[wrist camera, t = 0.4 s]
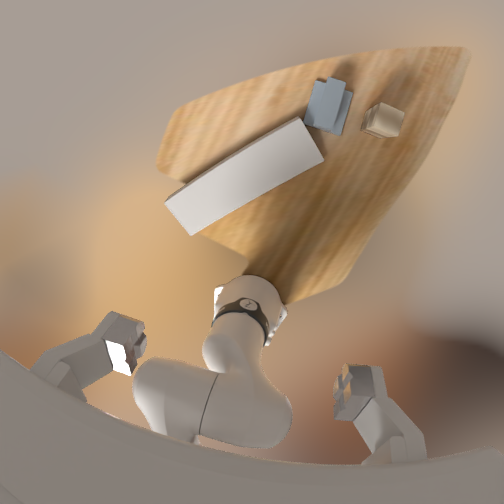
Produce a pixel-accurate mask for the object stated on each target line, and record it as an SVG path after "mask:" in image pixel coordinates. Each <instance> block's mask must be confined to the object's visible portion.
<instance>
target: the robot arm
mask: <svg viewBox="0 0 504 504" xmlns="http://www.w3.org/2000/svg"><path fill="white" fill-rule="evenodd" d="M218 294H219V295H218ZM287 314H288V310H287V308H286V307H285V306H284V305H283V304H282V302H281V300H280V297H279V294H278V292H277V290H276V289H275V287H274V286H273V285H272V284H271V283H270V282H268V281H267V280H265V279H263V278H261V277H258V276H254V275H243V276H239V277H237V278H234V279H233V280H231V281H230V282H229V283H227V284H223V285H219V286H217V287H216V289H215V298H214V319H213V322H212V326H211V330H210V332H209V333H208V335H207V338H206V339H205V341H204V343H203V347H202V354H203V358H204V360H205V363H206V365H207V367H208V368H209V369H210V370H208V369H205V368H202V367H199V366H196V365H193V364H190V363H187V362H184V361H181V360H175V359H169V358H162V357H152V358H150V359H148V360H147V361H145V362H144V363H143V364H142V365H141V366H140V367H139V368H138V370H137V372H136V374H135V376H134V379H133V386H132V388H133V389H132V390H133V396H134V399H135V402H136V404H137V406H138V407H139V408H140V410H141V411H142V412H143V414H144V416H145V417H146V419H147V421H148V423H149V425H150V427H151V429H152V431H151V430H148V429H146V428H143V427H140V426H138V425H135V424H132V423H130V422H127V421H125V420H123V419H120V418H118V417H116V416H113V415H111V414H109V413H107V412H104V411H102V410H100V409H98V408H96V407H94V406H92V405H90V404H88V403H86V402H87V399H86V397H85V395H84V393H83V391H82V389H83V388H85V387H87V386H88V385H90V384H92V383H93V382H95V381H97V380H98V379H100V378H102V377H103V376H105V375H107V374H108V373H110V372H111V371H113V369H114V370H117V371H120V372H123V373H126V374H128V375H131V374H132V373H133V371H134V369H135V367H136V366H137V360H136V359H138V358H140V357H141V356H142V355H143V354H144V352H145V348H146V344H147V339H146V335H145V334H144V333H143V330H144V329H145V326H144V322H142V321H139V320H137V319H133V318H131V317H128V316H125V315H122V314H119V313H116V312H113V311H111V312H110V313H108V314H107V315H106V317H105V318H104V319H103V320H102V322H101V323H100V324H99V325H98V326H97V328H96V329H95V330H94V332H93V333H92V334H91V335H90V334H87V335H84V336H81V337H79V338H77V339H74V340H72V341H69V342H67V343H64V344H62V345H59V346H57V347H54V348H52V349H49V350H46V351H45V352H44V353H43V354H42V355H41V357H40V358H39V359H38V360H37V362H36V363H35V364H34V365H33V366H32V368H31V369H30V370H29V369H27V368H26V367H24V366H23V365H21V364H20V363H18V362H17V361H16V360H14V359H13V358H11V357H10V356H9V355H7V354H6V353H5V352H3V351H2V350H1V349H0V504H504V455H503V454H501V453H500V452H499V451H498V450H497V449H496V448H494V447H492V446H485V447H481V448H478V449H474V450H470V451H466V452H463V453H457V454H453V455H448V456H443V457H438V458H431V459H427V453H426V447H425V442H424V436H423V433H422V432H421V431H420V430H419V429H418V428H417V427H416V425H415V424H414V423H413V422H412V421H411V420H410V419H409V418H408V417H407V415H406V414H405V413H404V412H403V411H402V410H401V409H400V408H399V407H398V405H397V404H396V403H395V402H394V401H393V400H392V399H391V398H388V396H387V391H386V386H385V381H384V376H383V372H382V368H381V367H380V366H368V365H358V364H348V363H346V364H345V365H344V366H343V368H342V374H341V375H339V376H338V377H337V379H336V381H335V384H334V389H333V398H334V399H335V400H336V401H337V402H336V403H335V405H334V420H345V421H353V423H354V425H355V426H356V428H357V429H358V431H359V433H360V434H361V435H362V437H363V439H364V440H365V442H366V444H367V445H368V447H369V449H370V450H371V452H372V453H373V454H372V455H370V456H369V457H368V458H367V459H366V460H364V461H363V462H362V465H325V464H308V463H295V462H285V461H277V460H270V459H263V458H257V457H251V456H245V455H240V454H235V453H230V452H225V451H221V450H216V449H211V448H208V447H204V446H202V445H201V443H200V442H199V439H198V435H202V436H205V437H208V438H211V439H215V440H218V441H221V442H225V443H228V444H232V445H236V446H240V447H249V448H272V447H274V446H275V445H277V444H278V443H279V442H281V441H282V440H283V439H284V438H285V436H286V435H287V433H288V432H289V430H290V427H291V424H292V408H291V405H290V402H289V400H288V398H287V397H286V396H285V395H284V394H283V393H281V392H280V391H279V390H278V389H277V388H276V387H275V386H274V385H273V384H272V383H271V382H270V381H269V380H268V378H267V376H266V375H265V373H264V371H263V369H262V366H261V354H262V348H263V347H264V346H265V345H266V346H268V345H269V344H270V342H271V336H273V335H274V334H275V331H276V330H277V328H278V327H279V326H280V324H281V323H282V321H283V320H284V319H285V317H286V316H287ZM280 315H281V316H280Z"/></svg>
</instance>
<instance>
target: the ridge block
mask: <svg viewBox="0 0 504 504" xmlns="http://www.w3.org/2000/svg"><path fill="white" fill-rule="evenodd" d="M345 85H346V82H343V81H341V80H338V79H335V78H332V77H328V79H327V82H326V83H323V82H320V81H317V80H316V81H315V84H314V87H313V91H312V94H311V97H310V101H309V104H308V107H307V111H306V114H305V117H304V120H303V124H305V125H308V126H311V127H314V128H318V129H321V130H324V131H326V132H329V133H332V134H335V135H338V136H340V135H341V132H342V129H343V125H344V122H345V119H346V115H347V112H348V109H349V105H350V102H351V98H352V95H353V92H350V91H347V90H344V89H345Z"/></svg>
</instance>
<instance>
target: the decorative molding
mask: <svg viewBox="0 0 504 504" xmlns="http://www.w3.org/2000/svg"><path fill="white" fill-rule="evenodd" d="M323 161H324V159H323V157H322V155H321V153H320V151H319V150H318V148H317V146H316V144H315V143H314V141H313V139H312V137H311V136H310V134H309V132H308V131H307V129H306V127H305V125H304V124H303V122H302V120H301V119H300V118H299V117H298V116H297V117H295V118H293V119H292V120H290V121H288V122H286V123H284V124H283V125H281V126H279V127H277V128H275V129H274V130H272V131H270V132H268V133H267V134H265V135H263V136H261V137H260V138H258V139H256V140H255V141H253V142H251V143H250V144H248V145H246V146H245V147H243V148H241V149H240V150H238V151H236V152H235V153H233V154H232V155H230V156H228V157H227V158H225V159H224V160H222V161H221V162H219V163H217V164H216V165H214V166H213V167H211V168H210V169H208V170H207V171H205V172H204V173H202V174H201V175H199V176H198V177H196V178H195V179H193V180H192V181H190V182H189V183H187V184H186V185H184V186H183V187H182V188H180V189H179V190H177V191H176V192H174V193H173V194H172V195H170V196H169V197H168V198H167V200H166V201H165V202H164V204H165V205H166V206H167V208H168V209H169V210H170V211H171V213H172V214H173V215H174V216H175V217H176V219H177V220H178V221H179V222H180V224H181V225H182V226H183V227H184V228H185V230H186V231H187V232H188V233H189V234H190V236H192V235H193V234H195V233H197V232H198V231H200V230H202V229H203V228H205V227H207V226H208V225H210V224H212V223H213V222H215V221H217V220H219V219H220V218H222V217H224V216H225V215H227V214H229V213H231V212H232V211H234V210H236V209H237V208H239V207H241V206H243V205H244V204H246V203H248V202H250V201H251V200H253V199H255V198H257V197H259V196H260V195H262V194H264V193H266V192H268V191H269V190H271V189H273V188H275V187H277V186H278V185H280V184H282V183H284V182H286V181H288V180H289V179H291V178H293V177H295V176H297V175H299V174H301V173H302V172H304V171H306V170H308V169H310V168H312V167H314V166H316V165H317V164H319V163H321V162H323Z"/></svg>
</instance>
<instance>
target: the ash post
mask: <svg viewBox="0 0 504 504" xmlns="http://www.w3.org/2000/svg"><path fill="white" fill-rule="evenodd" d="M404 114H405V113H404V112H402V111H400V110H398V109H396V108H394V107H391V106H389V105H387V104H385V103H382V102H380V103H378V104H377V105H375V106H374V107H372V108H370V109H369V110H367V111H366V113H365V116H364V120H363V123H362V126H361V130H360V131H363V132H365V133H368V134H370V135H373V136H375V137H377V138H388V137H396V136H398V135H399V132H400V128H401V125H402V121H403V118H404Z"/></svg>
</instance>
